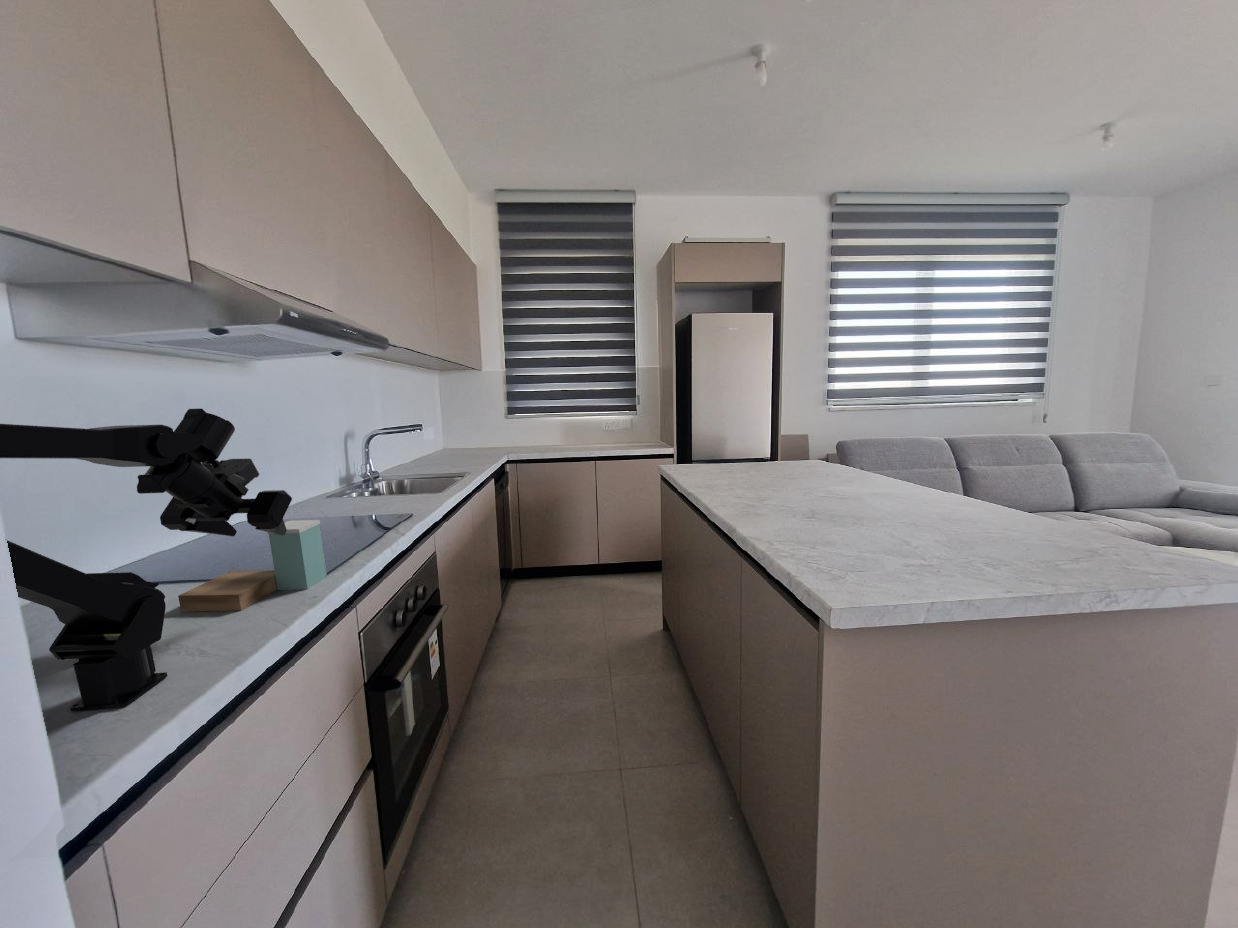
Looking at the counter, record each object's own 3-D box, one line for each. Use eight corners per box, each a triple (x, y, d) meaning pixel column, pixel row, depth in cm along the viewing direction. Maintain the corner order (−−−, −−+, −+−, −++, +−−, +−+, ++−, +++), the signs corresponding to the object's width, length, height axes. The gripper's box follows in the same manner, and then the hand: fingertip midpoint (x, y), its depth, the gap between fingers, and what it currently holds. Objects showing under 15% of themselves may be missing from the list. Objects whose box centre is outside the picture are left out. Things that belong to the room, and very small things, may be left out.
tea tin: (307, 589, 91) (299, 529, 89) (276, 589, 92) (267, 529, 89) (327, 576, 98) (319, 519, 95) (298, 577, 98) (289, 520, 96)
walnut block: (241, 610, 83) (238, 594, 83) (181, 611, 83) (178, 595, 83) (285, 584, 94) (283, 570, 94) (232, 585, 94) (230, 571, 94)
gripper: (276, 443, 77) (327, 494, 89) (165, 446, 77) (231, 497, 89) (244, 500, 70) (303, 547, 82) (122, 503, 70) (200, 549, 83)
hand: (259, 533), depth 84 cm, fingers open, 9 cm apart
